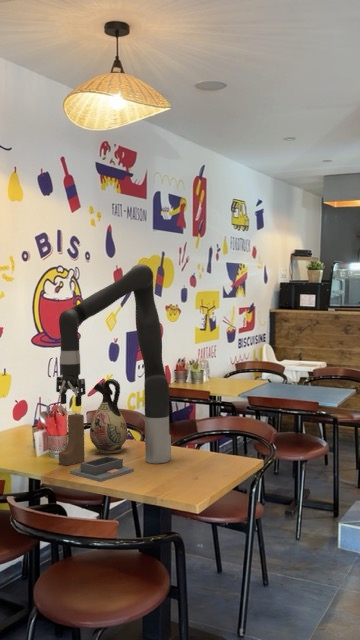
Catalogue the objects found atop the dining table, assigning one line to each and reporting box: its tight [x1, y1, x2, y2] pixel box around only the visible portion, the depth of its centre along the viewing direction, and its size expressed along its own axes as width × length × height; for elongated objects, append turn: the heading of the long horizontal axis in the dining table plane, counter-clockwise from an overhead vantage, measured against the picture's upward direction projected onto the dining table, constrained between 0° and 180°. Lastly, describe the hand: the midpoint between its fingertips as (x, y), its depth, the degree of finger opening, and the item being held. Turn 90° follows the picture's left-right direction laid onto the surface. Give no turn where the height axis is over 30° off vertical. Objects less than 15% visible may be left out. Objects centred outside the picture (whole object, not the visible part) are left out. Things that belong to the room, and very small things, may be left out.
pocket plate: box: [69, 455, 135, 482], centre depth 221 cm, size 16×16×4 cm
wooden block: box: [58, 413, 85, 466], centre depth 235 cm, size 9×4×18 cm, turn 137°
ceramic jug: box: [89, 378, 129, 454], centre depth 251 cm, size 17×15×30 cm
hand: (70, 405), depth 234 cm, fingers open, 8 cm apart
